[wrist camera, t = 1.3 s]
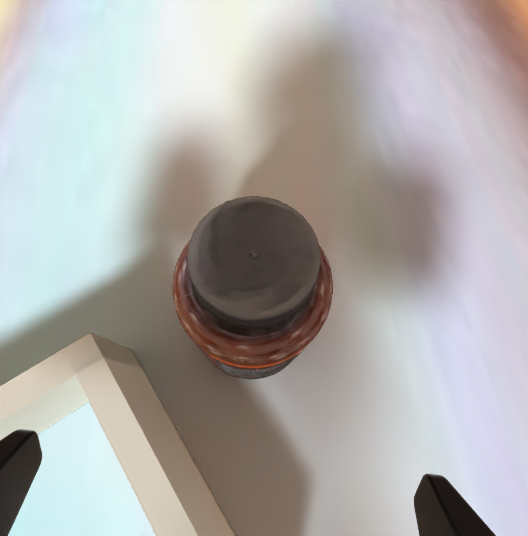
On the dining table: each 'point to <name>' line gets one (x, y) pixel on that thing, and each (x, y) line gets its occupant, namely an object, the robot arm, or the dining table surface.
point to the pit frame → (118, 429)
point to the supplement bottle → (252, 286)
